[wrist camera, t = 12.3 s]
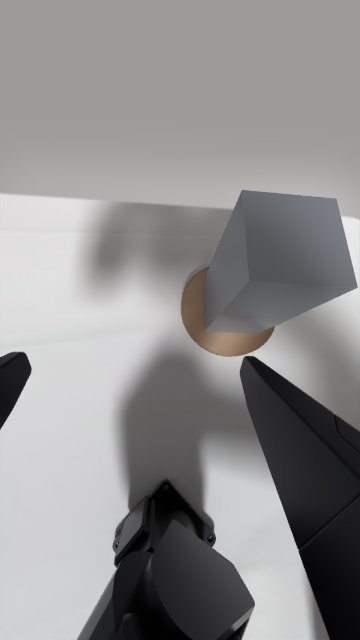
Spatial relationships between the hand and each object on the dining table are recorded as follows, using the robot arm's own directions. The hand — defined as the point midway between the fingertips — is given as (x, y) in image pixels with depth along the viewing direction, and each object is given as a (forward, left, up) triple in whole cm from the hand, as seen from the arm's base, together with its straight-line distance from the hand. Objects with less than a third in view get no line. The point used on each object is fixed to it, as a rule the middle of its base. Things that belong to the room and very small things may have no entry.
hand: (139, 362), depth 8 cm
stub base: (-1, -11, -14) cm, 18 cm away
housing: (-1, -11, -12) cm, 17 cm away
